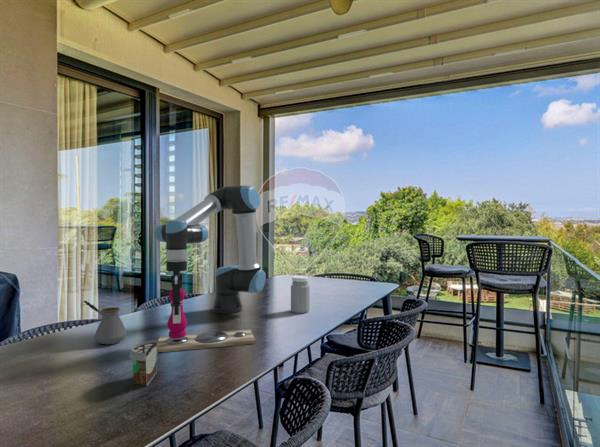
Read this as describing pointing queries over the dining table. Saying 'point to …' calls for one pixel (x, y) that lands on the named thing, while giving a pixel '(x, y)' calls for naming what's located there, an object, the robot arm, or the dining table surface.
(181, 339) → the flange
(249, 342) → the tan flat board
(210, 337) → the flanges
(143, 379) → the white and brown wedge
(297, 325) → the dining table surface
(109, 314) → the coffee pot
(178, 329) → the pepper mill
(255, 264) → the robot arm
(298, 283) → the jar
